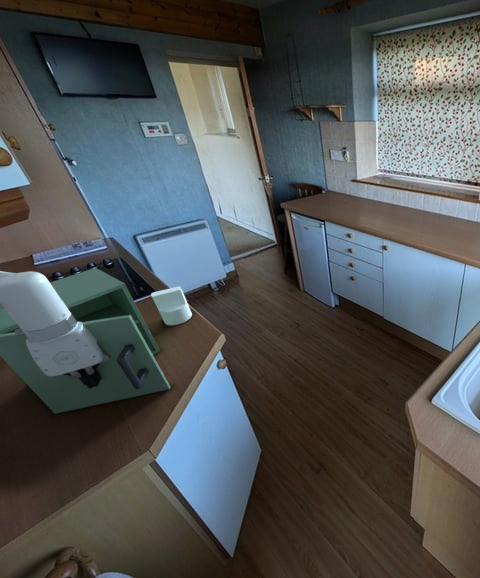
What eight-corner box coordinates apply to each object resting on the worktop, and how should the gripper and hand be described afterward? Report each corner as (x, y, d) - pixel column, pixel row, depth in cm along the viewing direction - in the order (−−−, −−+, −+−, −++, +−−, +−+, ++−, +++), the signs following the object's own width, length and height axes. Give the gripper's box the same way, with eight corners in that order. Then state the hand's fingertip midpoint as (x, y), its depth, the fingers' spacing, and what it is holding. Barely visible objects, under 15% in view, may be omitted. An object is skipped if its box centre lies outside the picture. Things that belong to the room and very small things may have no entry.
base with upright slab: (164, 328, 105) (150, 301, 99) (164, 315, 112) (151, 289, 105) (192, 320, 110) (181, 293, 103) (190, 308, 116) (180, 282, 110)
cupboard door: (163, 406, 78) (118, 332, 65) (40, 434, 71) (-39, 358, 58) (170, 386, 84) (130, 314, 70) (56, 410, 77) (-12, 336, 63)
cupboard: (160, 351, 96) (124, 283, 82) (55, 411, 77) (-16, 336, 63) (132, 332, 103) (95, 267, 90) (30, 383, 84) (-37, 310, 70)
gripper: (-6, 349, 58) (49, 407, 67) (92, 325, 64) (130, 382, 74) (10, 327, 63) (59, 385, 73) (99, 308, 69) (133, 362, 79)
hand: (95, 383), depth 73 cm, fingers closed
